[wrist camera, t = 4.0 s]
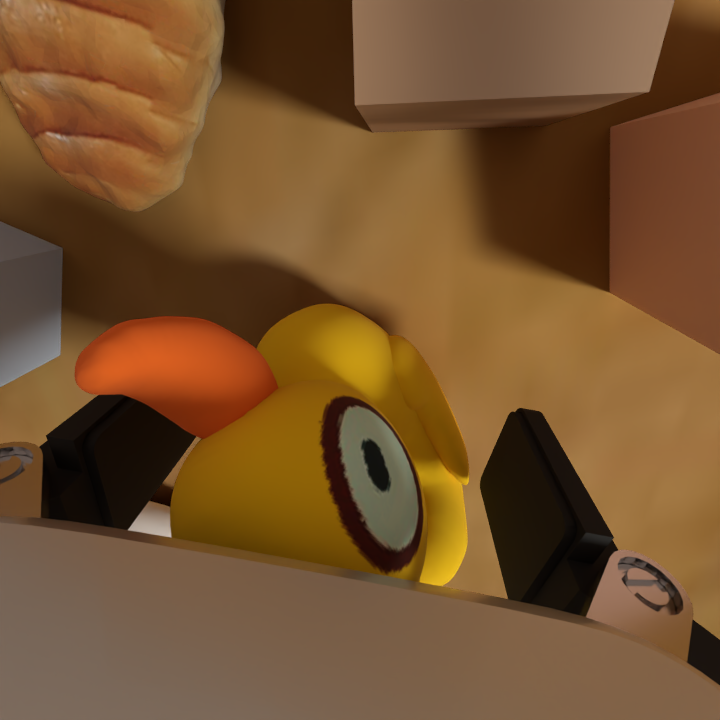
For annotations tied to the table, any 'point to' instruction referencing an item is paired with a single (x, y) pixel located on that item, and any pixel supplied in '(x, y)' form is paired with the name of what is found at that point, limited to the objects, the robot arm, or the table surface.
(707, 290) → the block terracotta
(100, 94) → the pastry
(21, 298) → the block slate
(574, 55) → the block walnut
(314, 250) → the table surface
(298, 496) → the duckling
